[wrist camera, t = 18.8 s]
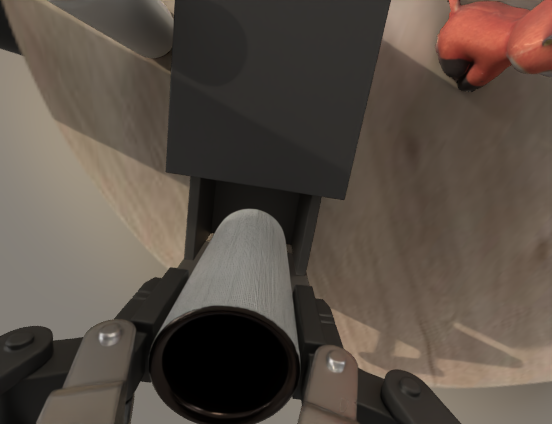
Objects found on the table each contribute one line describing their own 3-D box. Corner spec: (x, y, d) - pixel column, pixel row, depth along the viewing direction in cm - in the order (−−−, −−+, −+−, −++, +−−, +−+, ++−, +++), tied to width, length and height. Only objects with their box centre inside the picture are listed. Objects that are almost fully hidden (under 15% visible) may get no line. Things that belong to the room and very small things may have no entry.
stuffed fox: (471, -55, 24) (655, -226, 13) (530, 55, 27) (729, -4, 15) (399, 11, 25) (504, -90, 14) (461, 110, 28) (596, 94, 16)
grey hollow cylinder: (216, 205, 17) (142, 301, 8) (288, 210, 18) (309, 312, 8) (214, 270, 19) (149, 427, 9) (282, 275, 19) (293, 434, 9)
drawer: (291, 308, 33) (297, 361, 25) (192, 295, 32) (167, 345, 24) (325, 140, 28) (345, 143, 20) (207, 120, 27) (182, 115, 19)
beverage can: (122, 50, 26) (2, -15, 14) (129, -8, 25) (4, -130, 13) (173, 66, 26) (96, 15, 15) (183, 10, 25) (106, -95, 14)
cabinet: (321, 178, 30) (344, 200, 20) (200, 159, 29) (165, 172, 19) (354, 20, 26) (401, -46, 16) (214, -7, 25) (179, -92, 15)
